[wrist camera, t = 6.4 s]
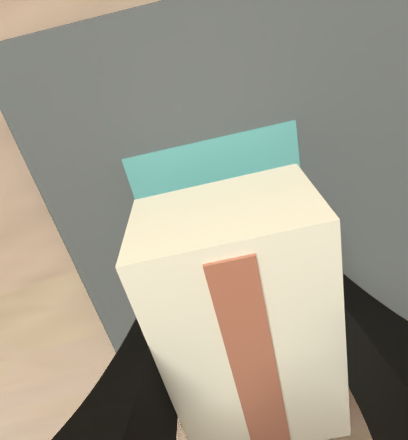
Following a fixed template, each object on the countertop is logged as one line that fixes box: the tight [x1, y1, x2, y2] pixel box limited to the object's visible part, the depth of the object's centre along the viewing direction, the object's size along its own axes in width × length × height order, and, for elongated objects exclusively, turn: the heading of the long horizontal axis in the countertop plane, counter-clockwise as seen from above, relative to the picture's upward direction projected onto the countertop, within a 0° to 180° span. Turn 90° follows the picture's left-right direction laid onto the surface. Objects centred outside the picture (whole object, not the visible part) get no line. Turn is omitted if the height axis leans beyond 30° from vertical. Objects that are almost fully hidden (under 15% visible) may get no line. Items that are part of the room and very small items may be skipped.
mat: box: [0, 0, 408, 353], centre depth 13 cm, size 20×14×1 cm
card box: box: [115, 163, 351, 440], centre depth 11 cm, size 8×5×4 cm, turn 13°
